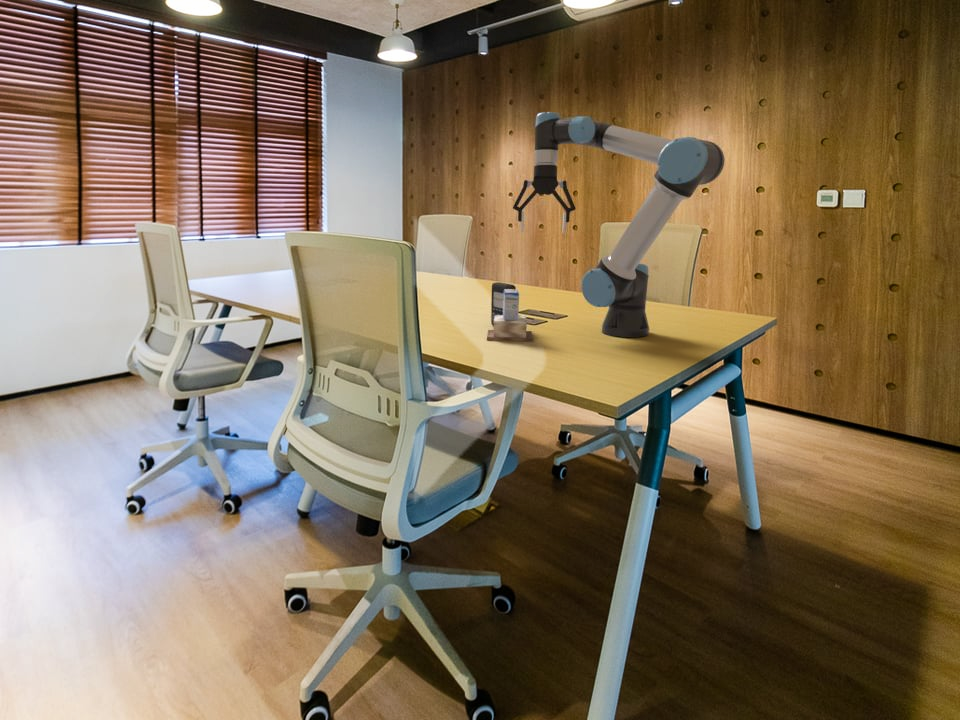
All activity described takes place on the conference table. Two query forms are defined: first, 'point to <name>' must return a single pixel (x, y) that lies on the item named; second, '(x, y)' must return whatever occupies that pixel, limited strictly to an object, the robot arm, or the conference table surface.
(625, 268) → the robot arm
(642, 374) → the conference table surface
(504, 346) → the conference table surface
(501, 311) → the card reader
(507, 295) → the medicine box
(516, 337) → the build base
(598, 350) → the conference table surface
